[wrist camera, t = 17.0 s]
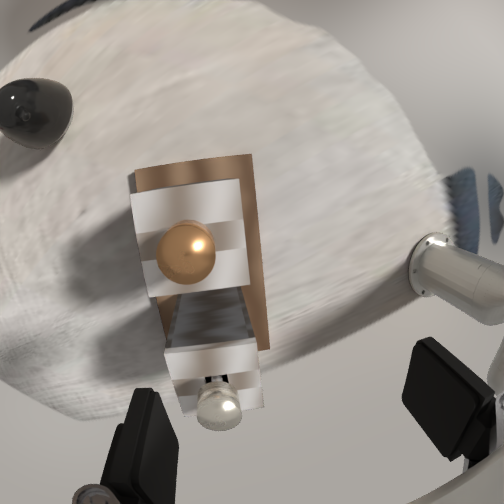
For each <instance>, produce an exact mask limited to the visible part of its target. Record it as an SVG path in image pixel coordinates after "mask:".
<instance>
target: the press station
mask: <svg viewBox="0 0 504 504" xmlns="http://www.w3.org/2000/svg"><path fill="white" fill-rule="evenodd" d="M135 179H136V187H137V193H134V194H130V199H131V206H132V213H133V219H134V225H135V231H136V237H137V243H138V248H139V254H140V259H141V264H142V269H143V273H144V278H145V283H146V287H147V292H148V296H149V297H156V300H157V304H158V308H159V312H160V316H161V320H162V324H163V328H164V332H165V336H166V340H167V342H166V346H165V351H164V356H165V360H166V363H167V366H168V370H169V373H170V376H171V379H172V382H173V385H174V388H175V391H176V394H177V397H178V400H179V403H180V406H181V409H182V411H183V414H184V417H188V416H197V394H198V391H199V389H200V388H201V387H202V386H203V385H205V384H207V383H209V382H211V376H217V375H222V378H223V382H227V383H229V384H231V385H233V386H234V387H235V388H236V389H237V391H238V394H239V401H240V407H241V411H244V410H250V409H257V408H263V407H264V403H263V394H262V385H261V376H260V367H259V358H258V351H262V350H268V349H270V343H269V331H268V320H267V309H266V298H265V287H264V276H263V265H262V254H261V244H260V233H259V223H258V213H257V202H256V192H255V182H254V172H253V162H252V154H245V155H235V156H225V157H216V158H208V159H200V160H193V161H186V162H179V163H172V164H166V165H160V166H154V167H148V168H142V169H137V170H135ZM182 220H195V221H198V222H201V223H202V224H204V225H205V226H206V227H208V229H209V230H210V231H211V233H212V235H213V237H214V241H215V252H216V260H215V264H214V267H213V269H212V271H211V273H210V274H209V275H208V276H207V277H206V278H205V279H204V280H202V281H200V282H198V283H195V284H191V285H182V284H178V283H175V282H173V281H171V280H169V279H168V278H167V277H166V276H165V275H164V274H163V273H162V272H161V270H160V269H159V267H158V264H157V260H156V250H157V246H158V243H159V241H160V240H161V238H162V237H163V235H164V234H165V233H166V232H167V230H168V229H169V228H170V227H171V226H172V225H173V224H175V223H177V222H179V221H182Z"/></svg>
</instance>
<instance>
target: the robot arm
mask: <svg viewBox="0 0 504 504" xmlns="http://www.w3.org/2000/svg"><path fill="white" fill-rule="evenodd" d="M409 281H410V284H411V287H412V288H413V290H414V291H415V292H416V293H417V294H419V295H420V296H423V297H431V296H434V295H437V296H438V297H440V298H441V299H443V300H445V301H446V302H448V303H450V304H451V305H453V306H455V307H456V308H458V309H460V310H461V311H463V312H465V313H466V314H467V315H469V316H471V317H472V318H474V319H475V320H477V321H478V322H480V323H482V324H484V325H489V326H492V325H498V324H501V323H504V265H502V264H499V263H496V262H494V261H491V260H489V259H486V258H484V257H481V256H479V255H476V254H473V253H471V252H468V251H466V250H463V249H460V248H457V247H455V246H454V243H453V241H452V240H451V238H450V237H449V236H447V235H446V234H443V233H438V232H436V233H431V234H429V235H427V236H426V237H424V238H423V239H422V240H421V241H420V243H419V244H418V245H417V247H416V248H415V250H414V252H413V255H412V257H411V260H410V265H409ZM487 382H488V385H487V384H486V383H485V382H484V381H483V380H482V379H481V378H479V377H478V376H477V375H476V374H475V373H474V372H473V371H471V370H470V369H469V368H468V367H467V366H466V365H465V364H463V363H462V362H461V361H460V360H459V359H457V358H456V357H455V356H454V355H453V354H452V353H450V352H449V351H448V350H447V349H446V348H445V347H443V346H442V345H441V344H440V343H439V342H437V341H436V340H435V339H434V338H432V337H427V338H424V339H421V340H419V341H417V343H416V345H415V346H414V347H413V350H412V355H411V360H410V365H409V369H408V373H407V378H406V382H405V386H404V389H403V393H402V402H403V404H404V405H405V407H406V408H407V409H408V410H409V412H410V413H411V414H412V416H413V417H414V418H415V420H416V421H417V422H418V424H419V425H420V426H421V428H422V429H423V430H424V432H425V433H426V434H427V436H428V437H429V438H430V440H431V441H432V442H433V444H434V445H435V446H436V448H437V449H438V450H439V452H440V453H441V454H442V456H444V457H447V458H448V459H449V461H450V462H451V461H453V460H454V459H456V458H458V457H459V456H461V454H463V455H464V457H465V459H464V467H463V473H462V474H461V475H459V476H457V477H456V478H454V479H453V480H451V481H449V482H448V483H446V484H444V485H442V486H441V487H439V488H437V489H435V490H434V491H432V492H430V493H428V494H426V495H424V496H422V497H421V498H418V499H416V500H414V501H412V502H410V503H408V504H504V338H503V340H502V343H501V345H500V347H499V349H498V351H497V354H496V356H495V358H494V360H493V362H492V364H491V366H490V368H489V371H488V375H487ZM494 394H495V395H496V396H497V397H496V398H495V397H494ZM178 452H179V444H178V439H177V437H176V435H175V432H174V430H173V428H172V425H171V423H170V420H169V418H168V415H167V413H166V410H165V408H164V405H163V403H162V400H161V397H160V395H159V393H158V392H154V391H153V389H152V388H136V389H135V390H134V393H133V396H132V399H131V402H130V405H129V408H128V412H127V415H126V418H125V421H124V423H120V424H119V425H118V426H117V428H116V431H115V434H114V437H113V440H112V443H111V447H110V450H109V453H108V457H107V460H106V463H105V467H104V470H103V474H102V478H101V481H100V485H99V484H88V485H84V486H82V487H81V488H79V489H78V490H77V491H76V492H75V494H74V496H73V498H72V504H175V492H176V477H177V463H178Z"/></svg>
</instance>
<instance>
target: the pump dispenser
mask: <svg viewBox="0 0 504 504" xmlns="http://www.w3.org/2000/svg"><path fill="white" fill-rule="evenodd" d="M73 112H74V106H73V101H72V97H71V94H70V92H69V90H68V89H67V87H66V86H64V85H63V84H61V83H59V82H57V81H54V80H49V79H44V78H24V79H19V80H15V81H12V82H10V83H8V84H6V85H5V86H3V87H2V88H1V89H0V132H2V133H3V134H4V135H5V136H6V137H8V138H9V139H11V140H12V141H14V142H15V143H17V144H19V145H22V146H24V147H27V148H30V149H43V148H46V147H48V146H50V145H52V144H53V143H55V142H56V141H58V140H59V139H60V138H61V137H62V136H63V135H64V134H65V133H66V131H67V130H68V128H69V126H70V124H71V121H72V118H73Z"/></svg>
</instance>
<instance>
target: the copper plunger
mask: <svg viewBox="0 0 504 504" xmlns="http://www.w3.org/2000/svg"><path fill="white" fill-rule="evenodd" d="M156 260H157V264H158V267H159V269H160V270H161V272H162V273H163V274H164V275H165V276H166V277H167V278H168V279H169V280H171V281H173V282H175V283H178V284H182V285H191V284H195V283H198V282H200V281H202V280H204V279H205V278H206V277H207V276H208V275H209V274H210V273H211V271H212V269H213V267H214V264H215V260H216V252H215V241H214V237H213V235H212V233H211V231H210V230H209V229H208V227H206V226H205V225H204V224H202V223H201V222H198V221H195V220H182V221H179V222H177V223H175V224H173V225H172V226H171V227H170V228H169V229H168V230H167V232H166V233H165V234H164V235H163V237H162V238H161V240H160V241H159V243H158V246H157V250H156Z"/></svg>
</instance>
